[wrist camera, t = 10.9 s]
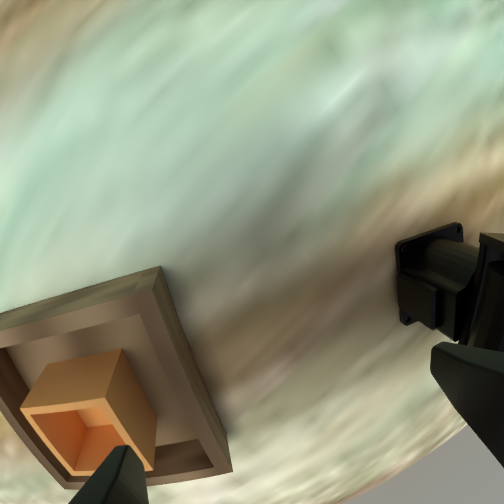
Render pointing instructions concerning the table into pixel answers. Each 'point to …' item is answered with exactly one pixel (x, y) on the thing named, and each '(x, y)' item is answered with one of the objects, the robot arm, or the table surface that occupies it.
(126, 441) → the small crate
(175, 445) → the walnut crate
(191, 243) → the table surface
